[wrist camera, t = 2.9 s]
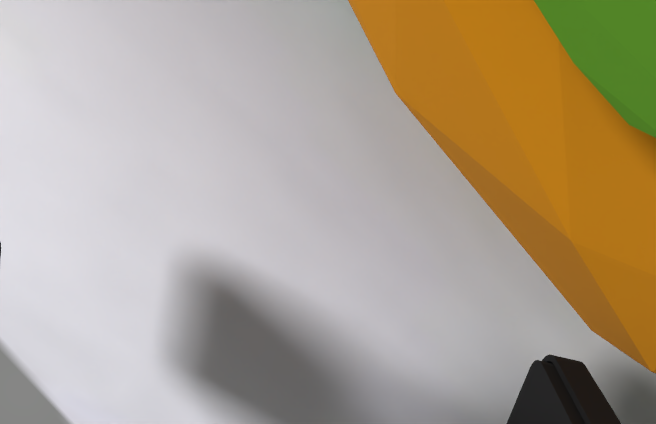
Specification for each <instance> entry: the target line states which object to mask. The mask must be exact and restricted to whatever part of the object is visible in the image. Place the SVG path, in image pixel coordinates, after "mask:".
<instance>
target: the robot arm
mask: <svg viewBox="0 0 656 424" xmlns="http://www.w3.org/2000/svg"><path fill="white" fill-rule="evenodd" d="M0 256H1V243H0ZM507 424H621V423H620V421H619V420H618V418H617V416H616V415H615V413H614V411H613V410H612V408H611V407H610V405H609V403H608V402H607V400H606V399H605V397H604V395H603V394H602V392H601V390H600V389H599V387H598V386H597V384H596V382H595V381H594V379H593V377H592V376H591V374H590V373H589V371H588V369H587V368H586V366H585V365H584V364H583V363H582V362H580V361H576V360H571V359H567V358H562V357H558V356H554V355H547V356H546V357H545V358H544V359H543V360H542V361H539V360H536V361H534V362H533V364H532V365H531V367H530V369H529V372H528V374H527V376H526V379H525V381H524V384H523V386H522V388H521V391H520V393H519V396H518V398H517V400H516V403H515V405H514V408H513V410H512V412H511V415H510V417H509V419H508V422H507Z"/></svg>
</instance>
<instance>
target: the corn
mask: <svg viewBox="0 0 656 424" xmlns="http://www.w3.org/2000/svg"><path fill="white" fill-rule="evenodd" d="M348 1H349V3H350V5H351V7H352V9H353V11H354V13H355V15H356V17H357V19H358V21H359V22H360V24H361V26H362V28H363V30H364V32H365V34H366V36H367V38H368V40H369V42H370V44H371V46H372V48H373V50H374V52H375V54H376V56H377V58H378V60H379V62H380V63H381V65H382V67H383V69H384V71H385V73H386V75H387V77H388V79H389V81H390V83H391V85H392V87H393V89H394V91H395V93H396V94H397V95H398V97H399V98H400V99H401V100H402V101H403V103H404V104H405V105H406V106H407V107H408V109H409V110H410V111H411V112H412V114H413V115H414V116H415V117H416V118H417V120H418V121H419V122H420V123H421V124H422V126H423V127H424V128H425V129H426V130H427V132H428V133H429V134H430V135H431V137H432V138H433V139H434V140H435V141H436V143H437V144H438V145H439V146H440V147H441V149H442V150H443V151H444V152H445V153H446V155H447V156H448V157H449V158H450V160H451V161H452V162H453V163H454V164H455V166H456V167H457V168H458V169H459V170H460V172H461V173H462V174H463V175H464V176H465V178H466V179H467V180H468V181H469V183H470V184H471V185H472V186H473V187H474V189H475V190H476V191H477V192H478V193H479V195H480V196H481V197H482V198H483V199H484V201H485V202H486V203H487V204H488V206H489V207H490V208H491V209H492V210H493V212H494V213H495V214H496V215H497V216H498V218H499V219H500V220H501V221H502V222H503V224H504V225H505V226H506V227H507V229H508V230H509V231H510V232H511V233H512V235H513V236H514V237H515V238H516V239H517V241H518V242H519V243H520V244H521V245H522V247H523V248H524V249H525V250H526V252H527V253H528V254H529V255H530V256H531V258H532V259H533V260H534V261H535V262H536V264H537V265H538V266H539V267H540V268H541V270H542V271H543V272H544V273H545V275H546V276H547V277H548V278H549V279H550V281H551V282H552V283H553V284H554V285H555V287H556V288H557V289H558V290H559V291H560V293H561V294H562V295H563V296H564V298H565V299H566V300H567V301H568V302H569V304H570V305H571V306H572V307H573V308H574V310H575V311H576V312H577V313H578V314H579V316H580V317H581V318H582V319H583V321H584V322H585V323H586V324H587V325H588V327H589V328H590V329H591V330H592V331H593V332H595V333H596V334H598V335H599V336H601V337H602V338H603V339H605V340H606V341H608V342H609V343H611V344H612V345H614V346H615V347H617V348H618V349H619V350H621V351H622V352H624V353H625V354H627V355H628V356H630V357H631V358H632V359H634V360H635V361H637V362H638V363H640V364H641V365H643V366H644V367H646V368H647V369H648V370H650V371H651V372H654V373H656V0H348Z"/></svg>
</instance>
